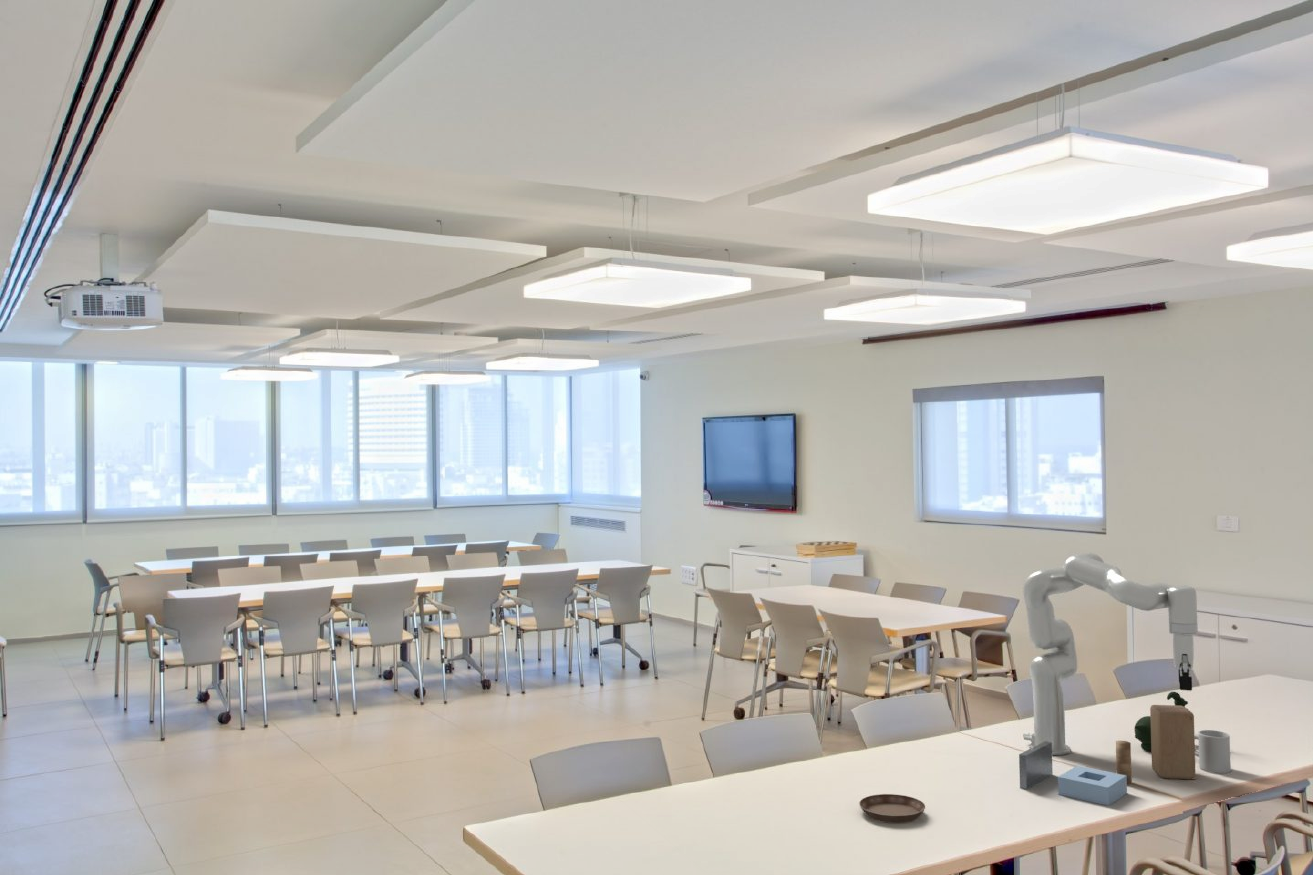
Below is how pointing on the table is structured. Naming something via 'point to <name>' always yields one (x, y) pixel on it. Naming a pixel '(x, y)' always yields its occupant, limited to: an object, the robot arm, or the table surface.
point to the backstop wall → (1035, 765)
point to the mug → (1213, 751)
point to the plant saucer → (892, 808)
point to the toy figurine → (1145, 723)
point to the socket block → (1092, 785)
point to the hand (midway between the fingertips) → (1185, 686)
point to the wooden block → (1172, 741)
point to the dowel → (1123, 759)
